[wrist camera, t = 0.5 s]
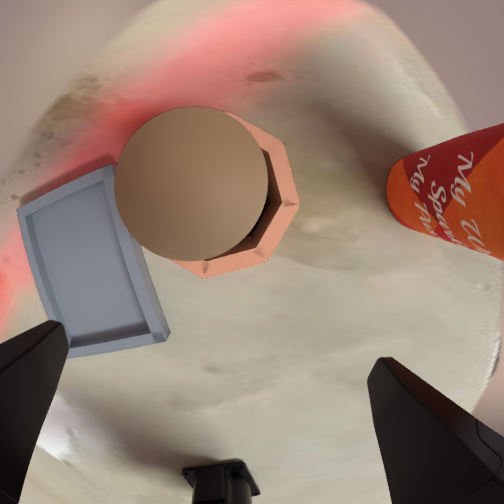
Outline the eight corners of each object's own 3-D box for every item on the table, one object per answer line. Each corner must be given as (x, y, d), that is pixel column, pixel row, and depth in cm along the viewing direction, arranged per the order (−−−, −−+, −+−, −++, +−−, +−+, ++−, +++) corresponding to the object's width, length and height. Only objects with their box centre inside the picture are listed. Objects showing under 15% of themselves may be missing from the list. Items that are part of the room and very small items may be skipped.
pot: (291, 237, 19) (310, 249, 14) (180, 268, 19) (162, 290, 14) (261, 125, 18) (270, 100, 13) (149, 158, 18) (122, 144, 13)
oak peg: (253, 215, 19) (285, 237, 6) (200, 230, 19) (137, 278, 6) (239, 162, 18) (244, 89, 6) (186, 177, 18) (101, 136, 6)
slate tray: (170, 332, 20) (166, 341, 18) (74, 350, 20) (66, 358, 18) (119, 166, 18) (111, 163, 16) (27, 208, 18) (16, 209, 16)
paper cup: (352, 177, 19) (524, 151, 5) (419, 124, 18) (564, 79, 4) (406, 265, 20) (556, 332, 6) (463, 207, 20) (603, 224, 6)
